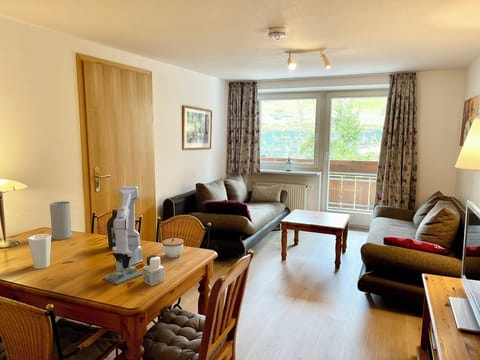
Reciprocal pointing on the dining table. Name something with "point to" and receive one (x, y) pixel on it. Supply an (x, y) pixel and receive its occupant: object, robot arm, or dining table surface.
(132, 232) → the robot arm
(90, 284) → the dining table surface
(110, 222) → the olive oil
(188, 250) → the dining table surface
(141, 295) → the dining table surface
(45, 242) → the cup
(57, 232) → the cylinder vase
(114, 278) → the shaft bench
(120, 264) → the box
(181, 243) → the lidded bowl
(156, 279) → the container
